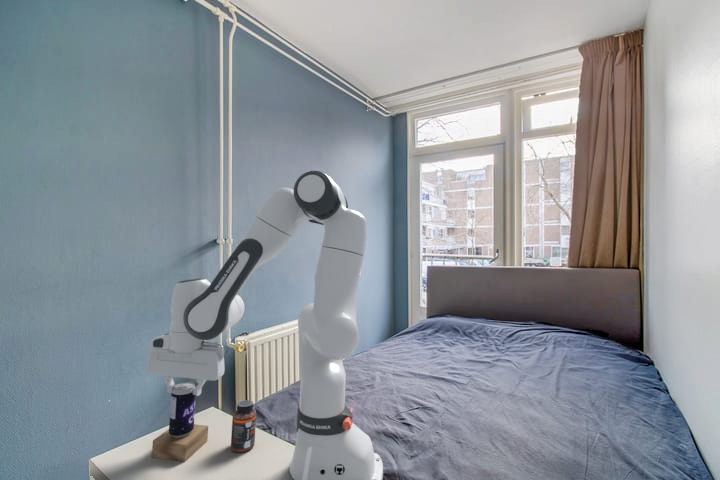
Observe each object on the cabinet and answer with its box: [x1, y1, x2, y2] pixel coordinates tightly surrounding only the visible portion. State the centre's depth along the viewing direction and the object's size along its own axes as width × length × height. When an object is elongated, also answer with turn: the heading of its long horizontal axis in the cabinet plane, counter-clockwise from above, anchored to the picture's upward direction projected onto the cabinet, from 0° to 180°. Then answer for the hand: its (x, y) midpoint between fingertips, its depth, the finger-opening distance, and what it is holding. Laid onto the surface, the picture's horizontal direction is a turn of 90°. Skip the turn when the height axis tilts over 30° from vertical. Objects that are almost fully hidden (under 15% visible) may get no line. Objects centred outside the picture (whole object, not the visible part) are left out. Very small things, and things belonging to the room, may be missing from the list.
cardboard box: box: [151, 423, 209, 463], centre depth 83 cm, size 9×9×4 cm
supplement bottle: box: [230, 399, 257, 453], centre depth 85 cm, size 6×6×11 cm
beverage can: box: [168, 381, 197, 438], centre depth 84 cm, size 6×6×12 cm
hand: (184, 393), depth 84 cm, fingers closed on beverage can, 6 cm apart
